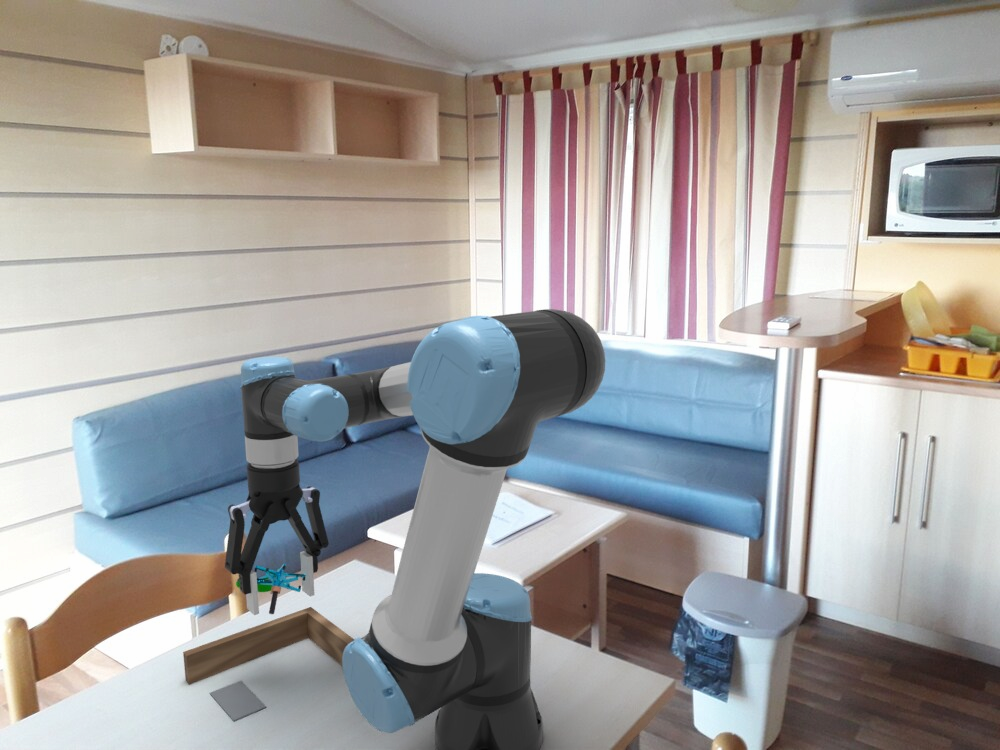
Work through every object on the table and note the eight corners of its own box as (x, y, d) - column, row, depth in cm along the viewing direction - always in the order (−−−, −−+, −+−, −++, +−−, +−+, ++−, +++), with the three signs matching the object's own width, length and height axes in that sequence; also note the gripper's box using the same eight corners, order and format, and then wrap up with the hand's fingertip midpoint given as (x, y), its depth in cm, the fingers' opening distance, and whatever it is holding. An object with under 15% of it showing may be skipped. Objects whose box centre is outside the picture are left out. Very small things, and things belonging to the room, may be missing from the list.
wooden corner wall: (360, 671, 125) (358, 642, 124) (226, 729, 111) (224, 697, 110) (312, 633, 137) (310, 606, 136) (185, 681, 123) (183, 652, 122)
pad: (266, 707, 116) (266, 706, 116) (233, 721, 113) (233, 720, 113) (241, 681, 123) (241, 680, 123) (209, 694, 120) (209, 692, 119)
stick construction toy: (316, 573, 122) (283, 554, 117) (309, 617, 118) (275, 599, 112) (257, 587, 126) (223, 569, 121) (249, 630, 122) (213, 613, 117)
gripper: (325, 442, 126) (331, 573, 130) (192, 469, 112) (203, 614, 117) (348, 453, 120) (354, 589, 124) (211, 482, 107) (222, 634, 111)
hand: (281, 601), depth 121 cm, fingers closed on stick construction toy, 8 cm apart
